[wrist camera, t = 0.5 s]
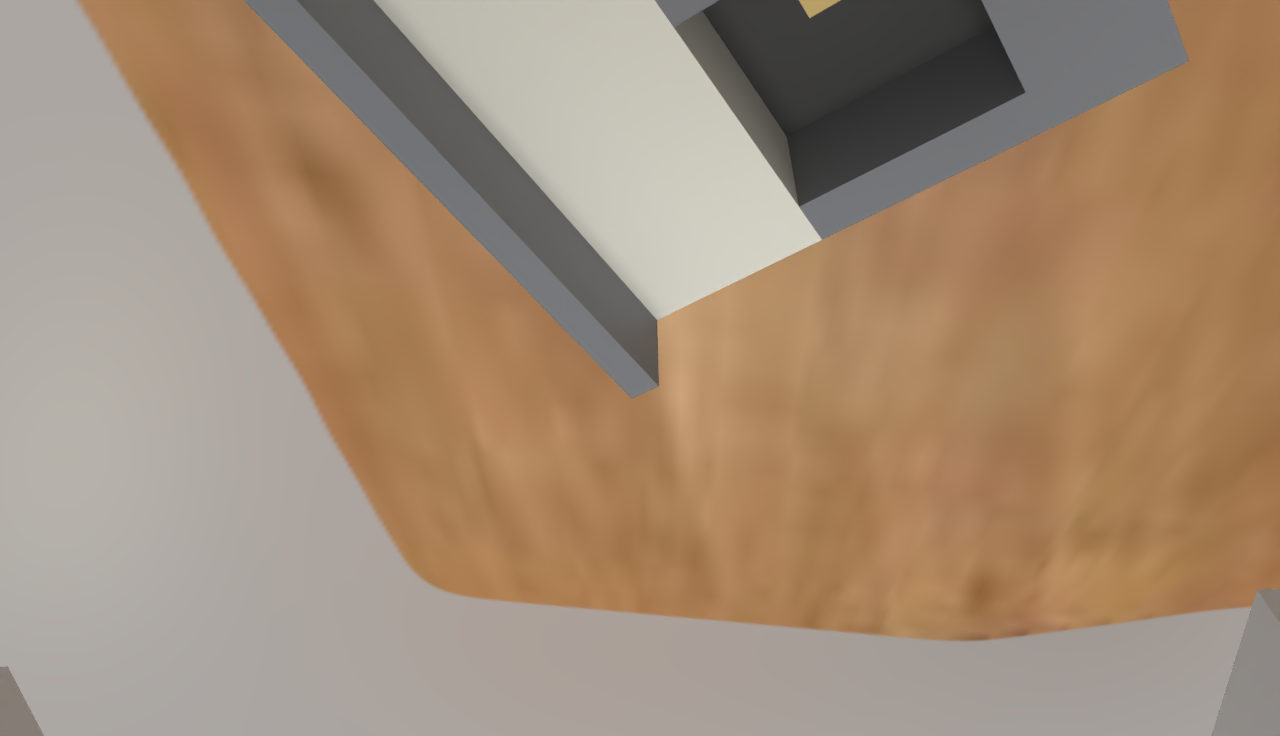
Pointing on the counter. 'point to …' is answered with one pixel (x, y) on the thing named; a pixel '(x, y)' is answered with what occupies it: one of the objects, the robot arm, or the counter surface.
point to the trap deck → (701, 124)
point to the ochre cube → (816, 6)
